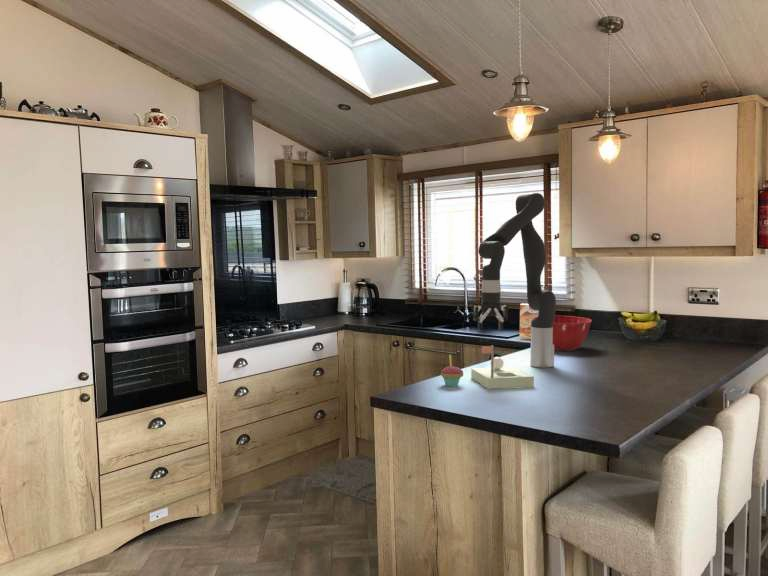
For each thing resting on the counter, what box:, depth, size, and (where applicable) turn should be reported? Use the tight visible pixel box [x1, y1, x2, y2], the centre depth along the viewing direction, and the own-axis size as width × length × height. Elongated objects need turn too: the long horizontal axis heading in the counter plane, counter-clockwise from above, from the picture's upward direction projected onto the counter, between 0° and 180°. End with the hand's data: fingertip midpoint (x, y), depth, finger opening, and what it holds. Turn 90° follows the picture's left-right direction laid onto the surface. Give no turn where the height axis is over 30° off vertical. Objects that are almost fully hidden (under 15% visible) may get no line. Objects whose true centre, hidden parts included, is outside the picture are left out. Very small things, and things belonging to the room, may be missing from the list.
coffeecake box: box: [519, 303, 539, 340], centre depth 350 cm, size 15×7×20 cm, turn 73°
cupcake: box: [440, 354, 464, 387], centre depth 237 cm, size 9×8×12 cm
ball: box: [493, 356, 504, 370], centre depth 246 cm, size 5×5×5 cm
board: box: [470, 345, 535, 390], centre depth 241 cm, size 20×19×16 cm
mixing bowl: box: [533, 315, 592, 352], centre depth 317 cm, size 28×28×16 cm
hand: (490, 331), depth 253 cm, fingers open, 7 cm apart
